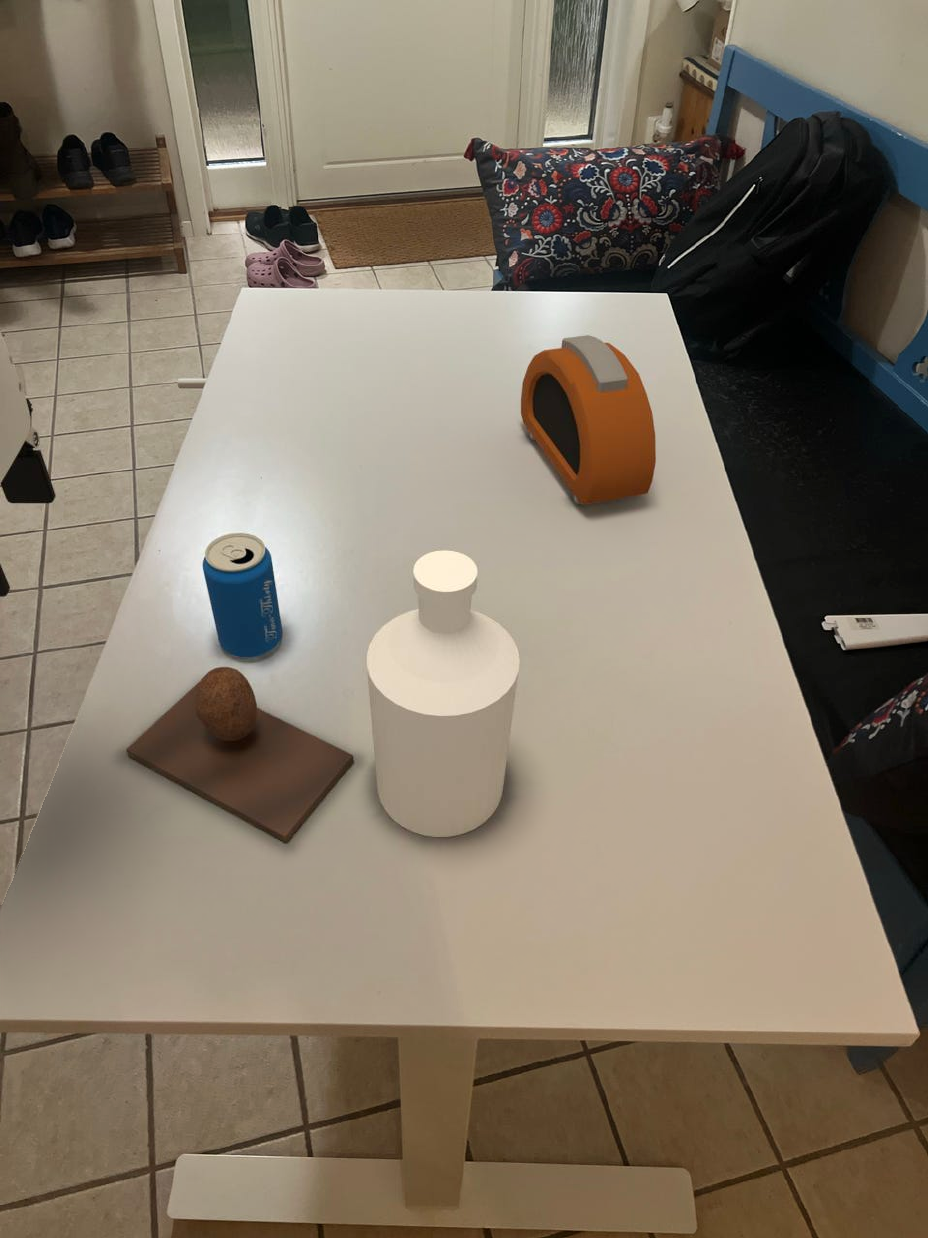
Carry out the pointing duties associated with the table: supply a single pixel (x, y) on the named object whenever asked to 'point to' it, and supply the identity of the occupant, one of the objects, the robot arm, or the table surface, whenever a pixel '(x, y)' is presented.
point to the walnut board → (245, 766)
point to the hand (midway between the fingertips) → (9, 544)
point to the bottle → (442, 703)
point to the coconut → (226, 704)
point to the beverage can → (243, 595)
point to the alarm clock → (591, 419)
